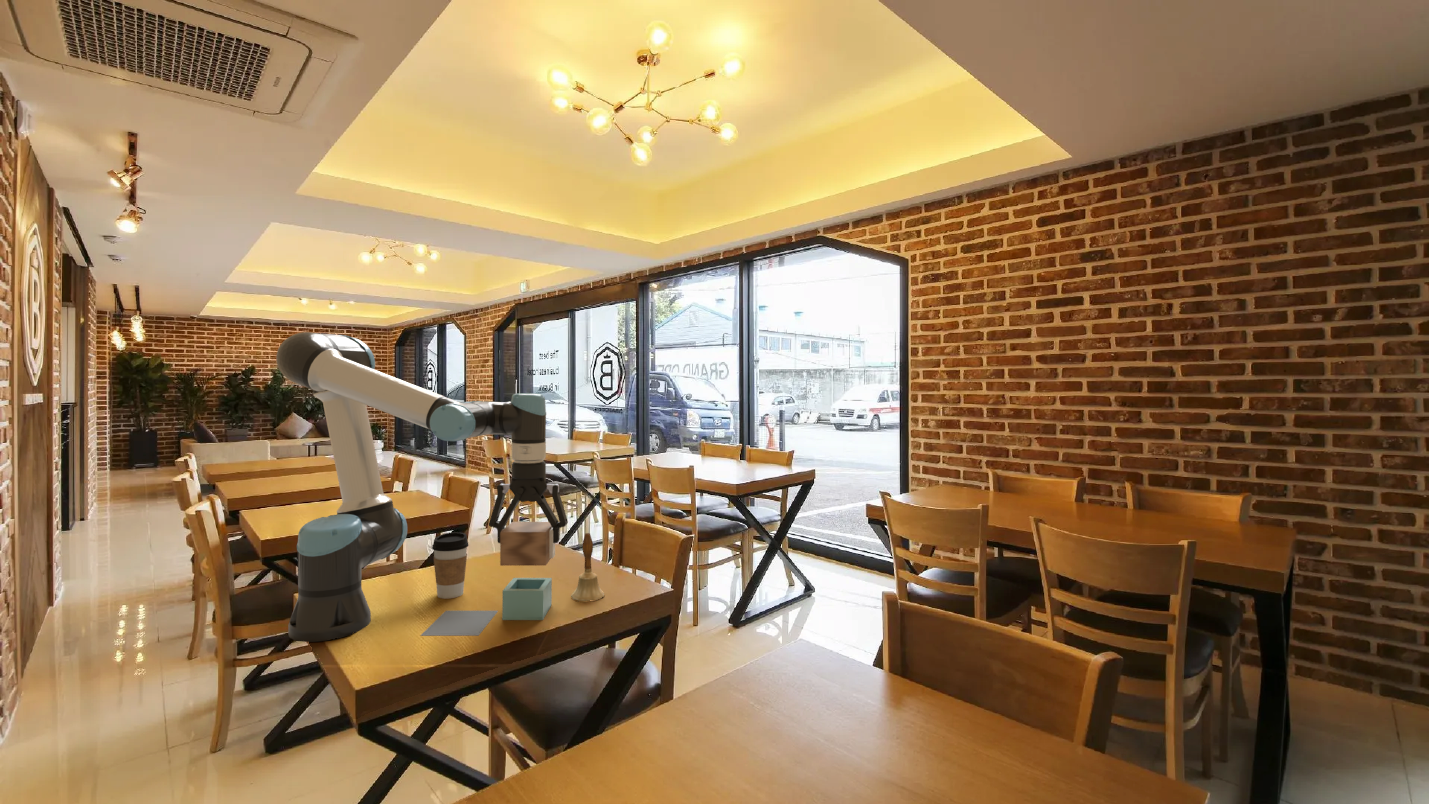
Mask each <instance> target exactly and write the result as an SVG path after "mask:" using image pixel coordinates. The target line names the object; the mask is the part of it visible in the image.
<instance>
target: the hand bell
mask: <svg viewBox="0 0 1429 804" xmlns="http://www.w3.org/2000/svg"><path fill="white" fill-rule="evenodd" d="M593 548H594V542H593V539H592V536H591V533H590V532H586V533H584V537H583V541H582V553H583V557H584V572H582V573H580V574H579V575H578V581H577V582H578V583H577V586H576V589H575V590H574V591H573V592H572V593H571V596H570V598H571V597H572V598H571V599H572V600H573V601H575V600H578V601H577V602H579V601H590V600H597V599H600V598H602V597H603V598H604V597H605V596H604V594H605V592H604V591H603V590H602V589H601V587H600V585H599V580H598V574H596V572H593V571H592V555H593V550H594V549H593ZM603 598H602V599H603ZM600 600H601V599H600ZM597 601H598V600H597Z"/></svg>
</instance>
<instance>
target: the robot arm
mask: <svg viewBox="0 0 1429 804" xmlns="http://www.w3.org/2000/svg"><path fill="white" fill-rule="evenodd" d="M275 358H276V360H275V361H276V365H277V368H278V370H279V371H280V373H281V375H282V376H283V377H285V378H286V379H287V380H289V381H290V382H292V383H294V384H296V385H299V386H302V387H305V388H307V389H310V390H312V394H313V396H314V397H315V398H316V399H318V400H320V402H322V404H323V410H324V411H323V412H324V416H325V419H326V425H327V430H328V436H329V439H330V445H331V451H332V455H333V460H334V465H335V471H336V477H337V480H338V486H339V491H340V496H341V501H342V502H341V505H340V506H339V507H338V509H337V510H336V514H332V515H328V516H321V517H318V518H315V519H313V520H310V521H308V522H307V523H305V524H304V525H302V526H301V527H300V529H299V531H298V534H297V535H298V536H297V544H296V551H297V588H298V589H297V590H298V591H297V593H298V596H297V599H296V602H295V605H294V608H293V611H292V613H291V616H290V618H289V619H290V620H289V623H288V629H287V630H288V631H287V632H288V634H287V635H288V637H289V638H290V639H291V640H293V641H298V642H303V643H305V642H307V643H310V642H311V643H312V642H313V643H315V642H326V641H331V640H330V639H333V640H336V639H335V638H337V639H341V638H345V637H348V635H349V636H352V635H354V634H357V632H360V631H362V630H363V629H365V628H366V627H367V626H368V625H369V624H370V623H371V619H372V618H371V617H372V615H371V614H372V613H371V609H370V606H369V604H368V601H367V598H366V596H365V594H364V592H363V591H364V590H363V589H362V568H364V567H366V566H370V565H371V564H373V563H375V562H377V561H379V560H383V559H386V558H387V557H389V556H390V555H392V554H394V553H395V552H396V551H398V550H399V549H400V548H401V547H402V545H403V544H404V542H405V540H406V538H407V535H408V523H407V519H406V517H405V515H404V514H403V513H402V512H400V511H399V509H397V508H395V507H394V503H393V499H392V498H391V497H389V496H388V495H387V494H385V493H384V489H383V484H382V479H381V474H380V469H379V465H378V464H379V463H378V459H377V454H376V449H375V443H374V440H373V432H372V428H371V423H370V418H369V412H368V408H367V406H368V407H370V408H373V409H376V410H378V411H381V412H383V413H386V414H389V415H391V416H394V417H397V418H399V419H402V420H404V421H406V422H408V423H412V424H415V425H417V426H420V427H423V428H425V429H428V430H430V431H431V432H432V433H433V435H434V436H435V437H436V438H438V439H440V441H441V440H442V441H445V442H459V441H462V440H466V439H470V438H476V437H481V436H486V435H507V436H509V435H511V436H510V437H511V459H512V462H511V481H510V482H509V483H504V482H501V483H500V484H498V485H496V489H497V490H496V491H497V492H496V493H497V496H496V499H495V501H494V506H493V509H492V512H491V516H490V518H489V522H488V526H489V527H490V528H495V529H496V530H497V543H498V544H500V532H501V531H502V530H503V529H505V528H506V527H507V526H506V525H507V523H508V522H509V520H510V518H511V517H512V515H513V513H514V511H515V510H516V508H517V506H518V505H519V504H520V503H526V502H532V503H535V502H536V503H537V505H538V506H539V507H540V509H541V511H542V512H543V514H544V516H545V518H546V519H547V522H549V523H550V524H551V526H552V528H551V529H550V530H549V558H551V559H554V558H555V556H556V544H558V543H559V541H560V540H561V539H560V538H561V537H560V534H561V533H560V529H561V528H565V527H567V524H568V522H569V521H568V518H567V517H568V516H567V515H566V510H565V507H564V505H563V501H562V497H561V494H560V489H561V488H560V487H561V484H560V483H555V484H553V483H548V482H547V480H546V479H547V475H546V474H547V472H546V471H547V470H546V469H547V468H546V467H547V465H546V464H547V463H546V462H545V461H544V460H545V459H546V458H547V452H546V451H547V449H546V448H547V445H546V443H547V442H546V439H547V438H546V433H547V432H546V431H547V429H546V428H547V410H546V407H547V406H546V398H545V396H544V394H541V393H513V394H512V396H511V400H510V401H505V402H503V401H501V402H500V401H480V400H472V401H464V402H459V401H458V400H454V399H452V398H449V397H446V396H444V395H442V394H439V393H436V392H434V391H431V390H428V389H426V388H423V387H420V386H418V385H415V384H412V383H411V382H407V381H405V380H402V379H400V378H398V377H397V378H396V377H395V376H392V375H390V374H387V373H384V372H381V371H379V370H376V369H375V368H376V360H375V355H374V353H373V351H372V349H370V347H369V346H368V345H367V344H366V343H365V342H363V341H362V340H360V339H358V338H356V337H352V336H349V335H345V334H329V333H319V332H318V333H317V332H310V331H305V332H304V331H303V332H299V333H295V334H292V335H290V336H289V337H287V338H285V339H284V340H283V341H282V343H281V344H280V345H279V346H278V349H277V353H276V357H275ZM509 490H510V491H511V492H512V494H513V495H514V496H513V497H512V499H511V501H510V503H509V506H508V507H507V509H506V510H505V512H504V514H503V515H502V517H501V519H500V514H501V511H502V508H503V504H504V502H505V497H506V494H507V493H509ZM546 490H548V491H549V493H550V494H551V496H552V497H551V498H552V501H553V503H554V504H553V505H554V507H555V510H556V513H557V514H556V515H557V516H556V515H555V513H554V512H553V510H552V508H551V506H550V504H549V503H548V500H547V498H546V496H545V494H544V493H545V492H546ZM557 517H558V518H557ZM499 519H500V521H499ZM505 526H506V527H505Z"/></svg>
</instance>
